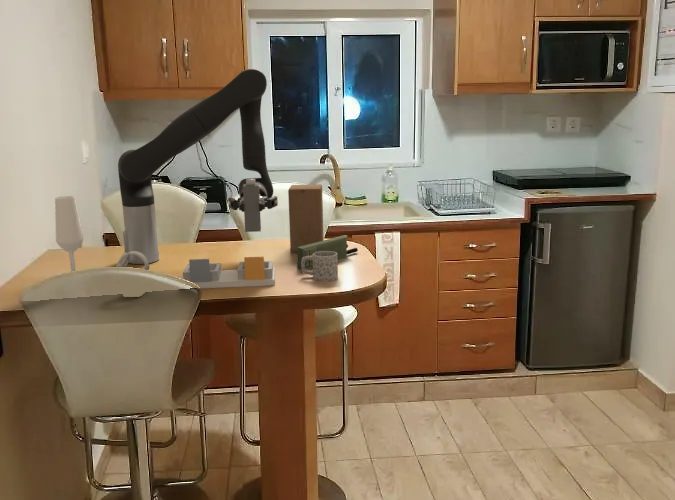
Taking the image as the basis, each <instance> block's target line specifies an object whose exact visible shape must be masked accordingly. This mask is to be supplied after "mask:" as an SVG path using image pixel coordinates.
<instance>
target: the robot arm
mask: <svg viewBox="0 0 675 500" xmlns="http://www.w3.org/2000/svg"><path fill="white" fill-rule="evenodd" d="M267 85H268V84H267V78H266V75H265V73H264V72H263V71H261V70H260V69H257V68H247V69H244V70H242V71H241V72H239V73H238V74H237V75H236V76H235V77H234V78H233V79H232V80H231V81H230V82H228V83H227V84H226V85H225V86H224V87H222V88H221V89H219V90H218V91H216V92H215V93H213V94H211V95H210V96H208V97H206V98H204V99H203V100H201V101H199V102H198V103H196V104H195V105H194V106H192V107H190V108H189V109H187V110H186V111H184V112H183V113H181V114H180V115H179V116H178V117H176V118H174V120H173V121H171V122H170V123H169V124H168V125H167V126H166V127H165V128H164V129H163V130H162V131H161V132H160V133H159V134H158V135H157V136H156V137H155V138H153V139H152V140H151V141H148V142H147V143H145V144H143V145H142V146H140V147H138V148H136V149H129V150H126V151H125V152H123V153H122V154H121V155H120V157H119V158H118V160H117V161H118V163H117V169H118V180H119V191H120V197H121V204H122V215H123V227H124V231H123V232H122V234H123V235H122V236H123V247H124V253H125V252H127V253H129V252H130V251H138V252H141V253H143V254H144V255H145V256H146V258H147V259H148V261H149V264H151V263H154V262H157V261H159V260H160V252H159V242H158V230H157V218H156V206H155V195H154V190H153V189H154V188H153V183H152V182H153V181H152V176H153V174H154V173H155V172H157V171H158V170H159V169H160V168H161V167H163V166H164V165H165V164H166V163H168V161H170V160H171V159H173V158H174V157H176V156H177V155H179V154H181V153H182V152H184V151H186V150H187V149H189V148H191V147H192V146H193V145H195V144H197V143H199V142H201V140H203V139H204V138H206V137H207V136H208V135H210V134H211V133H212V132H213V131H215V130H216V129H217V128H218V127H219V126H220V125H221V124H223V122H224V121H226V119H227V118H229V116H230V115H232V114H233V113H234V112H236V110H239V116H240V125H241V153H242V165H243V169H245V170H246V171H251V172H256V173H258V174H259V175H260V177H251V178H250V177H249V178H243V179H241V180H240V182H239V183H238V189H237V190H238V194H239V197H237V199H236V198H234V197H228V198H227V201H228V206H227V207H228V208H229V209H231V210H233V211H241V212H242V213H244V199H243V185H244V184H246V179H255V184H259V198H260V201H259V211H260V212H263V210H266V209H268V210H272V209H273V208H276V207H277V206H278V204H279V203H278V196H277V195H275V196H273V195H274V187H273V184H272V181H271V180H272V179H271V178H270V175H269V172H268V168H267V167H268V166H267V158H266V157H267V156H266V143H265V136H264V131H263V126H262V125H263V124H262V119H261V118H262V117H261V116H262V115H261V111H262V110H261V109H262V108H261V107H262V97H263V95H264V94H265V92H266V89H267ZM130 256H131V257H130V260H129V263H128V264H133V265H134V264H135V265H140V264H141V265H145V263H144V261H143V260H142V259H141V257H139V256H137V255H134V254H131V255H130Z"/></svg>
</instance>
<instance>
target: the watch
mask: <svg viewBox="0 0 675 500" xmlns="http://www.w3.org/2000/svg"><path fill="white" fill-rule="evenodd" d="M131 254H134V255H137V256H139V257H141V259H142V260H143V261H144V263H145V264H143V265H144V266H143V269H145V270H149V271H150V263H149V261H148V259H147V258H146V256H145V255H144V254H143V253H141V252H138V251H130V252H129V253H127V252H125V251H124V253H123V254H122V255H121V256H120V258H119V259H118V261H117V263H116V265H115V268H116V267H125V268H126V267H127V266H128V264H130V263H129V260H130V257H131V256H130V255H131Z"/></svg>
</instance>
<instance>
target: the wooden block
mask: <svg viewBox="0 0 675 500" xmlns="http://www.w3.org/2000/svg"><path fill="white" fill-rule="evenodd" d="M287 193H288V217H289V218H288V219H289V244H290V245H289V247H290V249H289V250H290V252H291V253H297V247H301V246H304V245H308V244H312V243H316V242H320V241H324V240H325V239H324V212H323V211H324V209H323V185H322V184H320V183H319V184H292V185H290V187H289V188H288V190H287Z"/></svg>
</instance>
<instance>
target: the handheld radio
mask: <svg viewBox="0 0 675 500" xmlns="http://www.w3.org/2000/svg"><path fill="white" fill-rule="evenodd" d="M348 237H349V235H346V234H344V235H339V236H336V237H331V238H329V239H324V241H320V242H316V243H312V244H308V245H304V246H301V247H297V252H296V255H297V258H296V260H297V261H296V262H297V263H296V264H297V265H296V267H297V270H299V271H300V270H301V271H302V268H301V261H302V258H303V257H305V256H312V255H313V253H315V252H319V251H333V252H336V253H337V258H338V260H341V259H344V258H347V255H350V254H354V253H357V252H358V250H359V249H358V247H353V248H350V249H348V247H349V245H348V241H349V240H348V239H349V238H348ZM311 268H313V260H306V261H305V269H306V270H308V269H311Z"/></svg>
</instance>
